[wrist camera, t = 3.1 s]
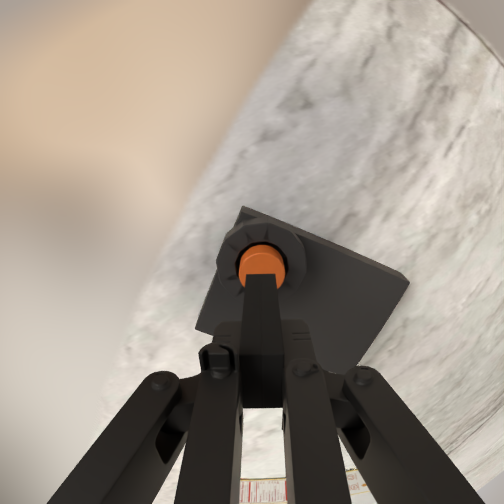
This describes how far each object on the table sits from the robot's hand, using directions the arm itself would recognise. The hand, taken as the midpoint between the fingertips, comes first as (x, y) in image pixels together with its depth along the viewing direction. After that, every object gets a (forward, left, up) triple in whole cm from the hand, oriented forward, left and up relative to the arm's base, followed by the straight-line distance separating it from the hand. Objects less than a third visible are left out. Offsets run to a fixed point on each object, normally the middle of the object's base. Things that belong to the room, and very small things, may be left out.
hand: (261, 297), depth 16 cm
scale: (+4, +3, -7) cm, 9 cm away
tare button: (0, 0, -4) cm, 4 cm away
